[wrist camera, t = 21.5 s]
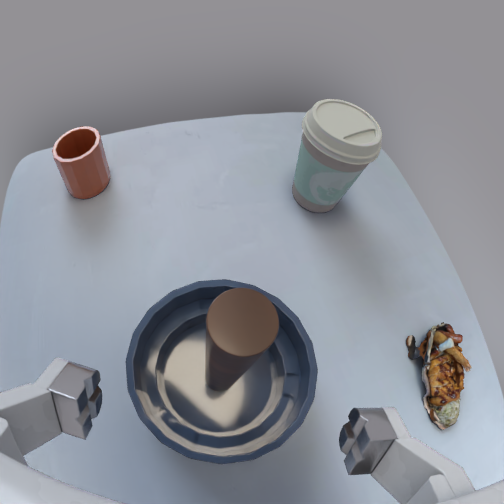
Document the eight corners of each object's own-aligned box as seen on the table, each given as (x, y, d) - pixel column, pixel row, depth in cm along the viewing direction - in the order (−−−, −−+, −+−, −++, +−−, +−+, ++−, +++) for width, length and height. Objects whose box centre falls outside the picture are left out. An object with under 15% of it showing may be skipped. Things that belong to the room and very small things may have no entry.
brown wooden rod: (207, 392, 26) (211, 360, 10) (203, 364, 27) (203, 290, 12) (236, 389, 27) (285, 351, 11) (232, 361, 28) (272, 284, 12)
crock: (63, 201, 34) (46, 165, 28) (72, 166, 36) (59, 130, 31) (107, 197, 35) (95, 158, 29) (112, 161, 38) (103, 123, 32)
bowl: (150, 458, 23) (137, 468, 18) (137, 309, 29) (123, 285, 24) (307, 439, 26) (331, 443, 20) (281, 298, 32) (297, 273, 27)
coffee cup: (283, 219, 37) (313, 142, 26) (278, 165, 41) (301, 89, 30) (352, 225, 38) (397, 157, 27) (340, 173, 42) (374, 104, 31)
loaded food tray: (429, 436, 26) (450, 435, 23) (402, 338, 32) (420, 328, 28) (470, 411, 28) (490, 407, 25) (444, 322, 33) (462, 312, 30)
